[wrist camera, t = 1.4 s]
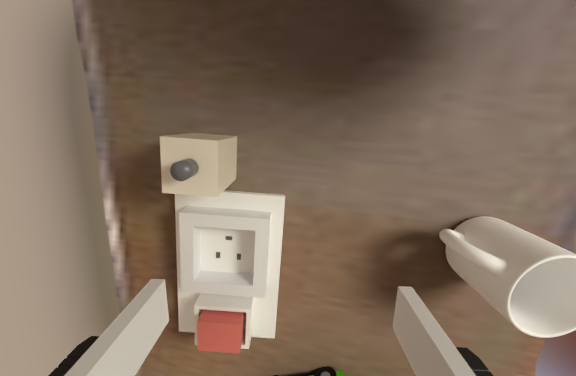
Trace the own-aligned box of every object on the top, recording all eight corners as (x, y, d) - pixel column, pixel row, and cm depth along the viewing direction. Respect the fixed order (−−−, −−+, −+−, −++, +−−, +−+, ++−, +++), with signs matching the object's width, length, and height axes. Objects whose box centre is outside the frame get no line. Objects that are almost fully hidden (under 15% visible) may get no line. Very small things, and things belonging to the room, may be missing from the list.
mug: (404, 246, 33) (452, 299, 23) (441, 189, 31) (511, 220, 21) (483, 284, 34) (562, 351, 24) (524, 231, 33) (627, 279, 23)
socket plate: (177, 186, 32) (164, 194, 29) (285, 194, 32) (284, 203, 29) (181, 326, 37) (170, 347, 33) (275, 333, 37) (273, 354, 33)
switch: (202, 309, 32) (197, 321, 30) (243, 312, 32) (240, 324, 30) (203, 337, 33) (197, 350, 31) (242, 340, 33) (239, 353, 31)
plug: (193, 132, 30) (147, 137, 21) (237, 136, 30) (211, 142, 21) (194, 175, 32) (150, 199, 22) (236, 178, 32) (210, 203, 22)
